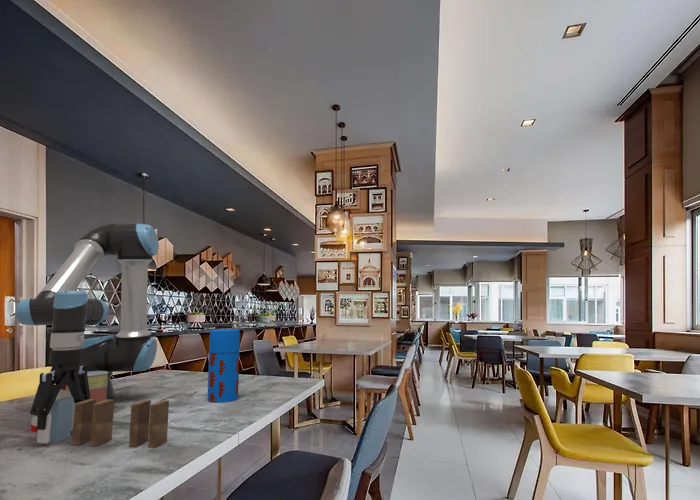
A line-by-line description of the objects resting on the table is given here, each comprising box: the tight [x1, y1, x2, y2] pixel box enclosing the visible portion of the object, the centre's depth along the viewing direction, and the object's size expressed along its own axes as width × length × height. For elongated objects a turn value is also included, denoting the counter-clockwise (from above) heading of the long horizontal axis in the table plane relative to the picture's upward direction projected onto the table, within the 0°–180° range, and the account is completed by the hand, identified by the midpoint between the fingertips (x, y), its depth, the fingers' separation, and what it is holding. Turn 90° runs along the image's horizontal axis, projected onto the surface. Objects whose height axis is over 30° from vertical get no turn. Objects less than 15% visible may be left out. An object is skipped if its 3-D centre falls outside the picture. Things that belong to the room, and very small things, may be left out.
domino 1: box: [49, 397, 74, 443], centre depth 109 cm, size 2×5×10 cm, turn 174°
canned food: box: [84, 371, 109, 403], centre depth 139 cm, size 11×11×12 cm
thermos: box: [207, 329, 241, 404], centre depth 155 cm, size 11×11×25 cm
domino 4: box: [128, 399, 152, 448], centre depth 105 cm, size 2×5×10 cm, turn 174°
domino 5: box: [147, 399, 170, 449], centre depth 105 cm, size 2×5×10 cm, turn 174°
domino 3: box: [90, 400, 115, 447], centre depth 106 cm, size 2×5×10 cm, turn 174°
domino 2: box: [71, 399, 96, 447], centre depth 107 cm, size 2×5×10 cm, turn 175°
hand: (60, 435), depth 109 cm, fingers open, 10 cm apart
